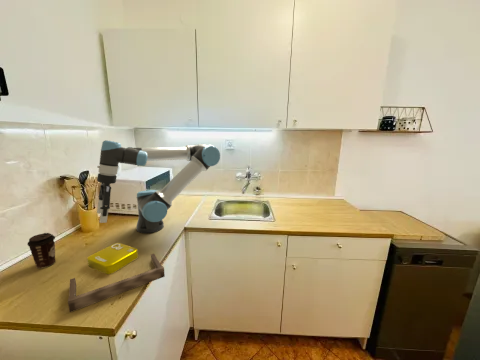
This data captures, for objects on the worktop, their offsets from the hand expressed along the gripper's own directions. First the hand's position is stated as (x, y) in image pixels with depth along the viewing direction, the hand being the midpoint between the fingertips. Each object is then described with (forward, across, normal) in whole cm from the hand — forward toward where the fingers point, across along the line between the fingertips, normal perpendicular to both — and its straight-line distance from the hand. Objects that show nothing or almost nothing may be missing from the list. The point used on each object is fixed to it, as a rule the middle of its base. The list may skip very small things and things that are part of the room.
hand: (101, 217), depth 101 cm
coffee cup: (+21, 0, -18) cm, 27 cm away
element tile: (+16, +14, +6) cm, 22 cm away
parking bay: (+15, +31, +5) cm, 35 cm away
